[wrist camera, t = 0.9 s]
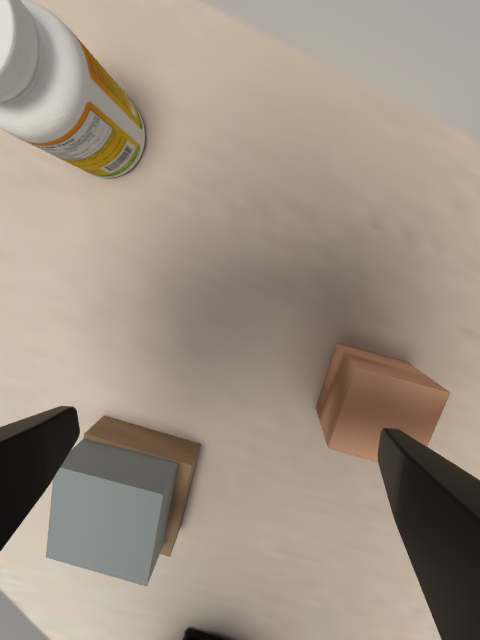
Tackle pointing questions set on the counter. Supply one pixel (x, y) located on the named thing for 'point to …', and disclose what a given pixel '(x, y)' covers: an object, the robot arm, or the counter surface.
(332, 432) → the terracotta cube
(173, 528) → the walnut base slab
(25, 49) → the supplement bottle
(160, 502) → the slate top slab
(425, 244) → the counter surface
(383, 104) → the counter surface
